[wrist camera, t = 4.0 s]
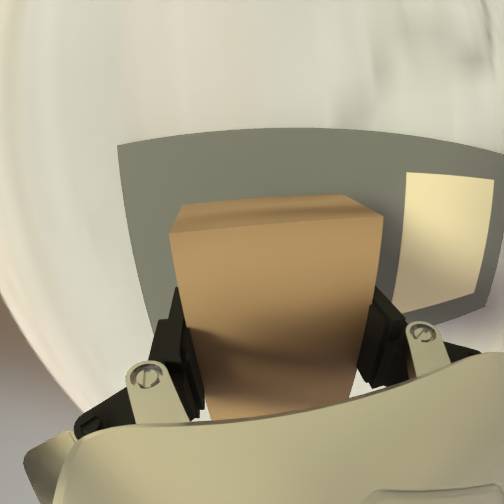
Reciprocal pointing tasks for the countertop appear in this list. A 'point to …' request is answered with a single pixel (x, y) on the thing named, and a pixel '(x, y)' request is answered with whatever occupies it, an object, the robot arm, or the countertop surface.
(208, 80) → the countertop surface
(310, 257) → the walnut tile
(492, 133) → the countertop surface
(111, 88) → the countertop surface
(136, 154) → the mat
